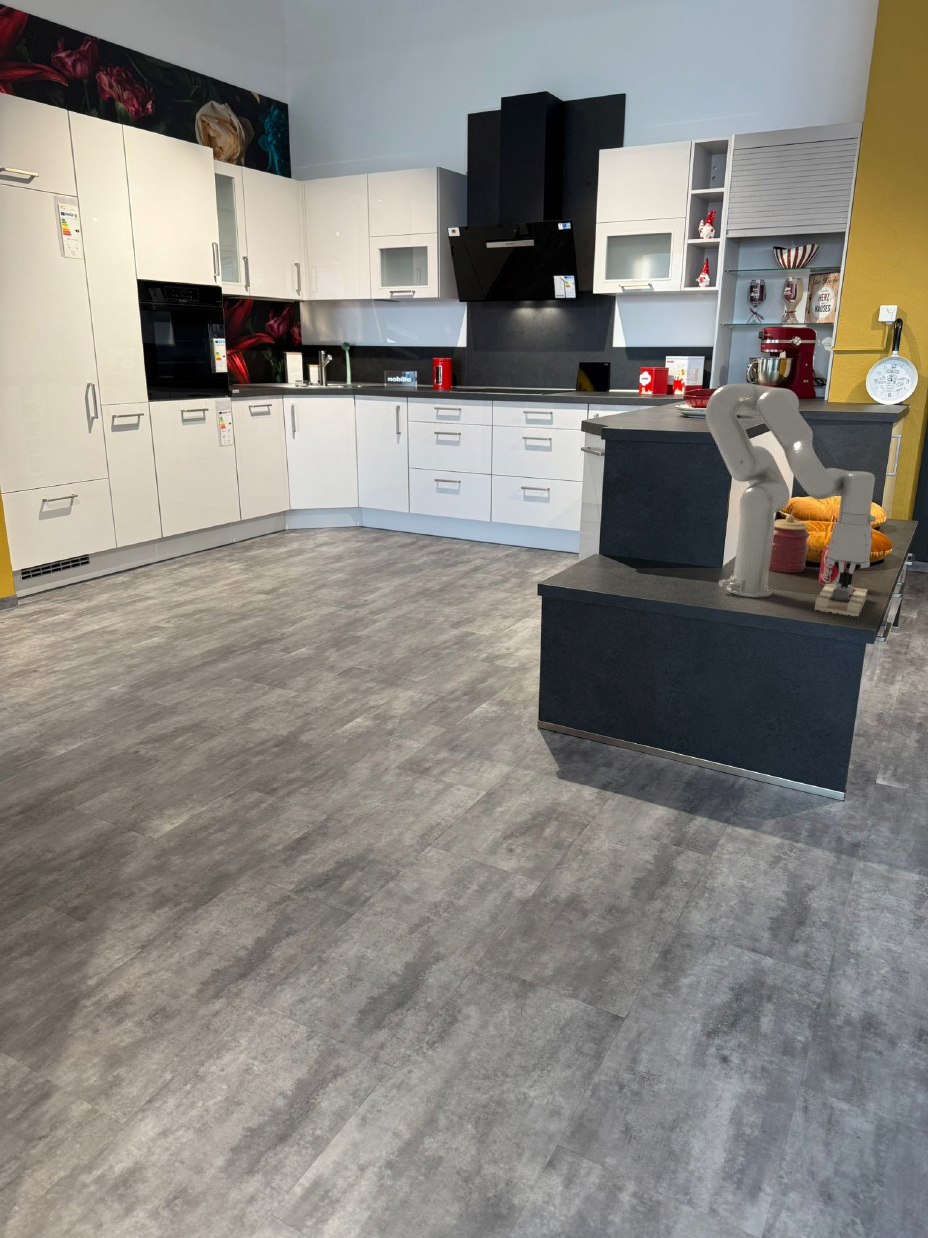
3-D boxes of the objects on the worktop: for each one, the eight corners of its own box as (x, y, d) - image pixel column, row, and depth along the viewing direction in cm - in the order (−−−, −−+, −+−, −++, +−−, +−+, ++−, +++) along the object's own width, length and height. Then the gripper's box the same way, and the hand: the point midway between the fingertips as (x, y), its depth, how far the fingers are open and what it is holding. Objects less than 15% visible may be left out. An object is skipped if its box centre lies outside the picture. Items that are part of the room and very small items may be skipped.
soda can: (845, 589, 260) (851, 549, 256) (820, 587, 261) (826, 547, 258) (840, 583, 267) (846, 544, 263) (816, 581, 268) (821, 542, 264)
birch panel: (858, 617, 232) (860, 606, 232) (814, 610, 237) (816, 599, 237) (865, 599, 249) (867, 589, 248) (824, 593, 254) (826, 583, 253)
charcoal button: (846, 603, 235) (848, 593, 234) (830, 601, 237) (832, 591, 236) (848, 599, 238) (850, 590, 237) (832, 597, 240) (834, 587, 239)
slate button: (849, 598, 240) (850, 588, 239) (833, 595, 242) (835, 586, 241) (850, 594, 243) (852, 585, 242) (835, 592, 245) (837, 583, 244)
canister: (791, 575, 274) (800, 519, 268) (754, 567, 283) (761, 513, 278) (811, 569, 282) (820, 515, 277) (774, 561, 291) (782, 509, 286)
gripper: (886, 519, 230) (876, 587, 236) (825, 514, 237) (817, 580, 242) (883, 523, 224) (873, 593, 229) (821, 518, 231) (813, 586, 236)
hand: (844, 586), depth 236 cm, fingers closed
